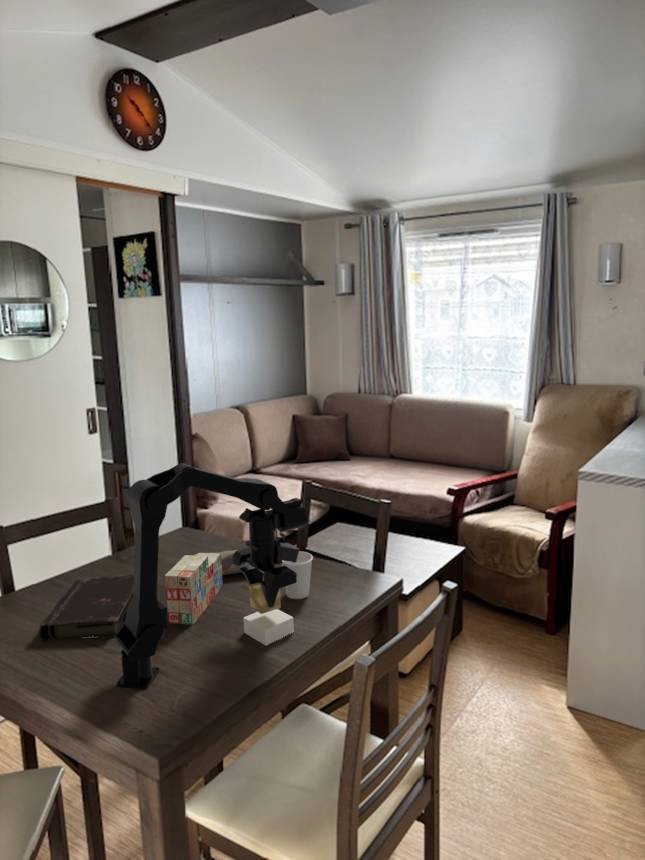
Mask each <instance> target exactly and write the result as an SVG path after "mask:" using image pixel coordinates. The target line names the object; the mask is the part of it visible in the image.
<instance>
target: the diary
mask: <svg viewBox="0 0 645 860" xmlns="http://www.w3.org/2000/svg"><path fill="white" fill-rule="evenodd" d="M133 594H134V573H133V574H132V573H127V574H110V575H107V574H106V575H101V576H100V575H98V576H90V577H89V576H88V577H79V578H76V579H75V580H74V582H73V583H72V585H71V586H70V587H69V588H68V590H67V591H66V593H64V595H63V596H62V597H61V598H60V599H58V600H59V601H58V602H57V603H56V604H55V606H54V608H53V609H52V610H51V611H50V613H49V614H48V615H47V616H46V617H45V619H44V620H42V622H41V623H40V624H39V625H38V638H39V640H40V642H43V641H44V640H45V639H46V638H47V637H48V635H49V638H50V639H51V638H53V637H54V638H56V639H70V638H69V637H71V638H72V637H76V638H82V637H89V636H90V637H92V636H94V637H97V636H98V637H97V638H100V639H113V638H114V636H115V635H116V634H117V632H118V631H119V630H120V628H121V627H122V626H123V624H124V623H125V618H126V613H127V608H128V606H129V604H130V602H131V600H132V598H133ZM47 634H48V635H47ZM54 635H55V636H54ZM45 637H46V638H45ZM65 637H66V638H65ZM94 637H93V638H94ZM44 638H45V639H44ZM54 638H53V639H54ZM43 639H44V640H43ZM72 639H73V638H72ZM114 639H115V638H114Z"/></svg>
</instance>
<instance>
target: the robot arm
mask: <svg viewBox="0 0 645 860" xmlns="http://www.w3.org/2000/svg"><path fill="white" fill-rule="evenodd" d="M190 487H194V488H197V489H202V490H206V491H209V492H213V493H217V494H222V495H225V496H230V497H233V498H236V499H239V500H241V501H243V502H244V503H247V504H250V505H251V506H253V507H255V508H257V509H255V510H254V509H253V510H252V509H250V508H245V510H244V511H243V512H242V513H241V514H240V515H239V516H238V518H239V519H240V520H241V521H242V522H243V521H244V522H245V523H248V532H249V533H248V536H249V538H248V539H247V540H246V541H245V545H246V546H247V547H246V548H241V549H237V550H238V551H236V552H235V553H234V554H233V563H234V564H235V565H237V566H241V565H242V562H243V567H242V568H240V571H241V572H242V573H241V574H242V575H243V577H244V578H245V581H246V582H247V583H248V586H249V585H252V584H255V583H258V582H260V585H261V588H262V591H263V593H264V596H265V599H266V602H267V604H268V606H269V608H271V607H273V606H274V604H275V601H276V597H277V594H278V591H279V589H280V590H281V588H286V587H285V586H288V585H291V584H295V583H297V573H296V572H294V571H293V570H291V569H290V568H288V567H286V566H282V560H284V561H292V562H293V563H296V561H297V557H298V553H299V551H300V548H299V547H297V546H295V545H293V544H291V543H288V542H286V539H285V538H284V537H282V536H279V535H278V536H277V535H276V530H278V532H280V533H286V532H290V531H292V530H297V529H302V528H304V527H306V526H307V523H308V518H309V517H308V514H307V512H306V509H305V506H303V504H302V502H303V501H302V499H301V498H298V497H294V498H291V499H289V500H285V501H283V500H282V499H281V498H280V497H279V493H278V489H277V487H276V486H275V485H273V484H271V483H269V482H266V481H264V480H262V479H259V478H250V477H249V478H248V477H242V478H241V477H240V478H237V477H235V478H234V477H232V476H227V475H224V474H220V473H217V472H212V471H209V470H206V469H201V468H198V467H195V466H191V465H189V464H187V463H182V462H181V463H178V464H176V465H175V466H173V467H171V468H170V469H167V470H164V471H161V472H159V473H156V474H154V475H151V476H150V477H148V478H146V479H140V480H137V481H135V482H134V483H133V484H132V485H131V486H130V487H129V488H128V492H127V499H128V506H129V511H130V514H131V518H132V521H133V523H134V524H133V525H134V528H135V529H134V559H133V560H134V563H133V566H134V567H133V574H134V594H133V598H132V600H131V602H130V604H129V606H128V608H127V613H126V618H125V623H124V624H123V626H122V627H121V628H120V630H119V631H118V632H117V634H116V635H115V636H114V640H115V642H116V644H117V645H118V646H119V647H120V649H121V651H120V653H121V658H120V659H121V668H122V675H121V676H120V677H119V679H117V681H116V686H117V687H119V686H120V687H128V688H129V687H130V688H139V689H140V688H141V689H143V688H144V689H146V688H148V687H149V685H151V683H152V682H153V680H154V679H155V678H156V677H157V675H158V674H159V672H160V671H161V668H160V667H158V666H157V667H155V666H153V657H154V656H155V655H156V653H157V648H158V644H159V641H160V640H161V639H162V638H163V636H164V634H165V629H168V625H167V617H168V609H167V606H165V605H164V604H163V602H161V601H160V600H159V599H158V581H159V580H158V578H159V577H158V576H159V574H158V573H159V547H160V546H159V545H160V544H159V542H160V541H159V540H160V528H161V526H162V524H163V521H164V520H165V518H166V515H167V510H168V506H169V505H170V504H172V503H173V502H175V501H176V500H178V499H179V498H180V496H181V495H182V494H183V493H184V492H185V491H186V490H187V489H189V488H190ZM276 565H281V566H279V567H276Z"/></svg>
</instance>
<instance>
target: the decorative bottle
mask: <svg viewBox="0 0 645 860" xmlns="http://www.w3.org/2000/svg"><path fill="white" fill-rule="evenodd" d="M238 550H239V549H233V550H227V551H226V550H225V551H216V552H215V551H214V552H211V553H217V554H221V565H222V576H226V575H234V574H243V573H242V572H241V571H240V568H242V567H243V562H242V565H241V566H237V565H235V564H234V563H233V554H234V553H235V552H236V551H238ZM197 554H198V553H195V554H193V555H192V556H196V555H197Z"/></svg>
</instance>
